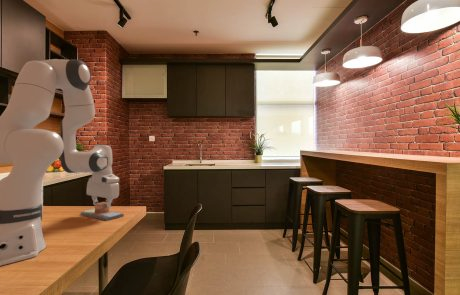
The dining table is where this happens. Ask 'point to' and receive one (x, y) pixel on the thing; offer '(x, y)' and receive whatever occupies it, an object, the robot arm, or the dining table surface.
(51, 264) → the dining table surface
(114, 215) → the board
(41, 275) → the dining table surface
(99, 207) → the terracotta cube
